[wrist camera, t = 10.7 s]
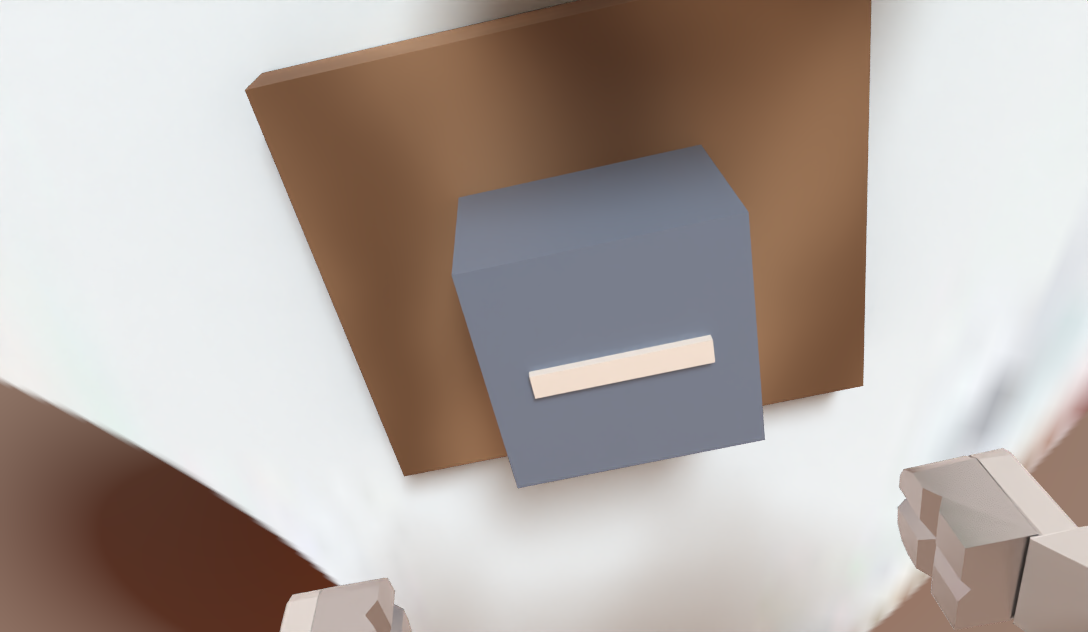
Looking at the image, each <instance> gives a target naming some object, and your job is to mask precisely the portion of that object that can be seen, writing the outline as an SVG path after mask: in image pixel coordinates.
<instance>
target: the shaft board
mask: <svg viewBox="0 0 1088 632" xmlns="http://www.w3.org/2000/svg"><path fill="white" fill-rule="evenodd" d="M870 36H871V0H578V1H574V2H569V3H565V4H561V5H556V6H552V7H548V8H543V9H539V10H535V11H530V12H526V13H522V14H517V15H513V16H508V17H504V18H500V19H495V20H491V21H487V22H482V23H478V24H474V25H469V26H465V27H461V28H456V29H452V30H448V31H443V32H439V33H435V34H430V35H426V36H422V37H417V38H413V39H408V40H404V41H400V42H395V43H391V44H387V45H382V46H378V47H374V48H369V49H365V50H361V51H356V52H352V53H348V54H343V55H339V56H335V57H330V58H326V59H322V60H317V61H313V62H308V63H304V64H300V65H295V66H291V67H287V68H282V69H278V70H274V71H269V72H265V73H262V74H261V75H260V76H259V77H258V78H257V79H256V80H255V81H254V82H253V83H252V84H251V85H250V86H249V87H248V88H247V89H246V90H245V92H246V94H247V96H248V99H249V101H250V104H251V106H252V108H253V111H254V113H255V116H256V118H257V121H258V123H259V125H260V128H261V130H262V133H263V135H264V138H265V140H266V142H267V145H268V147H269V150H270V152H271V155H272V157H273V159H274V162H275V164H276V167H277V169H278V171H279V174H280V176H281V179H282V181H283V184H284V186H285V188H286V191H287V193H288V196H289V198H290V201H291V203H292V205H293V208H294V210H295V213H296V215H297V218H298V220H299V222H300V225H301V227H302V230H303V232H304V235H305V237H306V239H307V242H308V244H309V247H310V249H311V251H312V254H313V256H314V259H315V261H316V264H317V266H318V268H319V271H320V273H321V276H322V278H323V281H324V283H325V285H326V288H327V290H328V293H329V295H330V298H331V300H332V302H333V305H334V307H335V310H336V312H337V314H338V317H339V319H340V322H341V324H342V327H343V329H344V331H345V334H346V336H347V339H348V341H349V344H350V346H351V348H352V351H353V353H354V356H355V358H356V361H357V363H358V365H359V368H360V370H361V373H362V375H363V377H364V380H365V382H366V385H367V387H368V390H369V392H370V394H371V397H372V399H373V402H374V404H375V407H376V409H377V411H378V414H379V416H380V419H381V421H382V424H383V426H384V428H385V431H386V433H387V436H388V438H389V441H390V443H391V445H392V448H393V450H394V453H395V455H396V457H397V460H398V462H399V465H400V467H401V470H402V472H403V474H404V476H408V475H413V474H418V473H423V472H428V471H434V470H439V469H444V468H449V467H454V466H459V465H464V464H469V463H474V462H479V461H484V460H489V459H494V458H499V457H505V456H508V455H507V452H506V449H505V445H504V442H503V439H502V436H501V433H500V429H499V426H498V423H497V420H496V417H495V413H494V410H493V407H492V404H491V401H490V397H489V394H488V391H487V388H486V384H485V381H484V378H483V375H482V372H481V368H480V365H479V362H478V359H477V356H476V352H475V349H474V346H473V343H472V340H471V336H470V333H469V330H468V327H467V323H466V320H465V317H464V314H463V311H462V307H461V304H460V301H459V298H458V295H457V291H456V288H455V285H454V282H453V279H452V265H453V254H454V243H455V232H456V221H457V210H458V199H459V197H464V196H468V195H473V194H477V193H482V192H487V191H491V190H496V189H500V188H505V187H509V186H514V185H518V184H523V183H528V182H532V181H537V180H541V179H546V178H550V177H555V176H559V175H564V174H569V173H573V172H578V171H582V170H587V169H591V168H596V167H600V166H605V165H610V164H614V163H619V162H623V161H628V160H632V159H637V158H641V157H646V156H651V155H655V154H660V153H664V152H669V151H673V150H678V149H682V148H687V147H692V146H696V145H702V147H703V148H704V150H705V151H706V152H707V154H708V155H709V157H710V158H711V159H712V161H713V162H714V164H715V165H716V167H717V168H718V169H719V171H720V172H721V174H722V175H723V176H724V178H725V179H726V181H727V182H728V184H729V185H730V186H731V188H732V189H733V191H734V192H735V193H736V195H737V196H738V198H739V199H740V201H741V202H742V203H743V205H744V206H745V208H746V209H747V210H748V212H749V224H750V238H751V252H752V266H753V280H754V294H755V308H756V323H757V337H758V351H759V365H760V379H761V393H762V406H763V405H768V404H773V403H779V402H784V401H789V400H794V399H799V398H804V397H809V396H814V395H819V394H824V393H829V392H834V391H839V390H844V389H850V388H855V387H860V386H863V368H864V321H865V273H866V226H867V178H868V131H869V83H870Z"/></svg>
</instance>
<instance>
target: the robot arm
mask: <svg viewBox="0 0 1088 632" xmlns="http://www.w3.org/2000/svg"><path fill="white" fill-rule="evenodd" d="M899 488H900V490H901V491H902V493H903V494H904V496H905V497H906V499H905V500H904V501H903V502H902V503H901V505H900V506H899V507H898V527H899V531H900V535H901V539H902V542H903V544H904V547H905V549H906V551H907V554H908V555H909V557H910V559H911V560H912V562H913V564H914V565H915V567H916V568H917V569H919V570H921V571H922V572H924V573H926V574H928V575H929V576H931V577H932V585H931V593H932V595H933V597H934V598H935V600H936V601H937V603H938V605H939V606H940V608H941V609H942V611H943V613H944V614H945V616H946V618H947V619H948V621H949V622H950V624H951V626H952V627H953V629H954V630H959V629H964V628H970V627H976V626H982V625H988V624H994V623H1000V622H1006V621H1012V620H1014V621H1013V624H1015V625H1016V626H1018V627H1019V628H1021V629H1022V630H1023V631H1025V632H1088V526H1084V527H1077V526H1076V525H1075V524H1074V523H1073V521H1072V520H1071V519H1070V518H1069V517H1068V516H1067V514H1066V513H1065V512H1064V511H1063V510H1062V509H1061V508H1060V507H1059V506H1058V504H1057V503H1056V502H1055V501H1054V500H1053V499H1052V498H1051V497H1050V496H1049V494H1048V493H1047V492H1046V491H1045V490H1044V489H1043V488H1042V487H1041V485H1040V484H1039V483H1038V482H1037V481H1036V480H1035V479H1034V478H1033V477H1032V475H1031V474H1030V473H1029V472H1028V471H1027V470H1026V469H1025V468H1024V466H1023V465H1022V464H1021V463H1020V462H1019V461H1018V460H1017V459H1016V458H1015V456H1014V455H1013V454H1012V453H1011V452H1009V451H1007V450H1005V449H1004V448H1002V449H997V450H992V451H987V452H983V453H978V454H973V455H969V456H961V457H957V458H952V459H948V460H943V461H939V462H934V463H930V464H925V465H921V466H916V467H911V468H907V469H903V471H902V473H901V475H900V481H899ZM394 596H395V590H394V589H393V587H392V585H391V583H390V581H389V579H388V578H380V579H375V580H369V581H364V582H358V583H353V584H347V585H341V586H336V587H331V588H325V589H321V590H316V591H311V592H306V593H300V594H295V595H292V597H291V599H290V600H289V602H288V603H287V605H286V609H285V613H284V617H283V621H282V625H281V629H280V632H412V631H411V627H410V624H409V620H408V617H407V615H406V613H405V611H404V609H403V608H401V607H399V606H397V605H395V604H394Z"/></svg>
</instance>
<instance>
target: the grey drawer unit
mask: <svg viewBox="0 0 1088 632" xmlns="http://www.w3.org/2000/svg"><path fill="white" fill-rule="evenodd" d="M452 279H453V282H454V285H455V288H456V291H457V295H458V298H459V301H460V304H461V307H462V311H463V314H464V317H465V320H466V323H467V327H468V330H469V333H470V336H471V340H472V343H473V346H474V349H475V352H476V356H477V359H478V362H479V365H480V368H481V372H482V375H483V378H484V381H485V384H486V388H487V391H488V394H489V397H490V401H491V404H492V407H493V410H494V413H495V417H496V420H497V423H498V426H499V429H500V433H501V436H502V439H503V442H504V445H505V449H506V452H507V455H508V458H509V462H510V465H511V468H512V471H513V474H514V478H515V481H516V484H517V487H518V488H522V487H527V486H532V485H537V484H542V483H547V482H552V481H557V480H562V479H567V478H572V477H578V476H583V475H588V474H593V473H598V472H603V471H608V470H613V469H618V468H623V467H629V466H634V465H639V464H644V463H649V462H654V461H659V460H664V459H669V458H674V457H680V456H685V455H690V454H695V453H700V452H705V451H710V450H715V449H720V448H725V447H730V446H736V445H741V444H746V443H751V442H756V441H761V440H765V435H764V421H763V407H762V393H761V379H760V365H759V351H758V337H757V323H756V308H755V294H754V280H753V266H752V252H751V238H750V224H749V212H748V210H747V209H746V208H745V206H744V205H743V203H742V202H741V201H740V199H739V198H738V196H737V195H736V193H735V192H734V191H733V189H732V188H731V186H730V185H729V184H728V182H727V181H726V179H725V178H724V176H723V175H722V174H721V172H720V171H719V169H718V168H717V167H716V165H715V164H714V162H713V161H712V159H711V158H710V157H709V155H708V154H707V152H706V151H705V150H704V148H703V147H702V145H696V146H692V147H687V148H682V149H678V150H673V151H669V152H664V153H660V154H655V155H651V156H646V157H641V158H637V159H632V160H628V161H623V162H619V163H614V164H610V165H605V166H600V167H596V168H591V169H587V170H582V171H578V172H573V173H569V174H564V175H559V176H555V177H550V178H546V179H541V180H537V181H532V182H528V183H523V184H518V185H514V186H509V187H505V188H500V189H496V190H491V191H487V192H482V193H477V194H473V195H468V196H464V197H459V199H458V210H457V221H456V232H455V243H454V254H453V265H452Z"/></svg>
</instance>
